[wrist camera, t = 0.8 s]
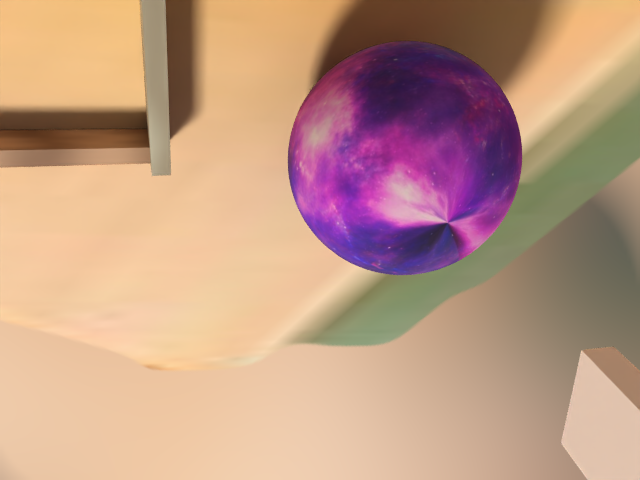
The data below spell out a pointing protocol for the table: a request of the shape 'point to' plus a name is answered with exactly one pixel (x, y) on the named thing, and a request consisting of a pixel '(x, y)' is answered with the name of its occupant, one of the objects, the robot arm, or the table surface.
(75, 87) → the table surface
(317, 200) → the decorative orb
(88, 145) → the grey and wooden pieces
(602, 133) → the table surface
